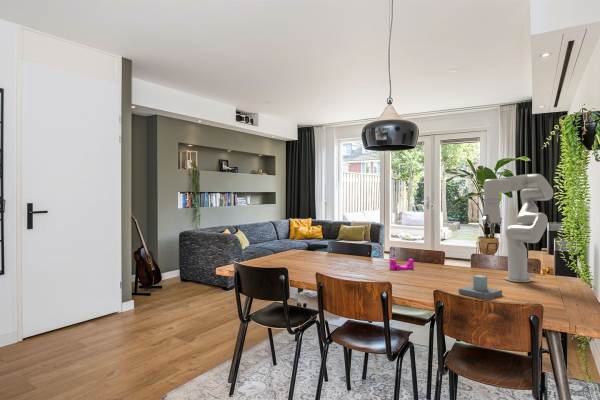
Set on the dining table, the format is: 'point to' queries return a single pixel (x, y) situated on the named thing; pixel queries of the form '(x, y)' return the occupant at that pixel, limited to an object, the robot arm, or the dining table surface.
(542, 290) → the dining table surface
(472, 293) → the socket
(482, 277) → the peg
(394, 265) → the toy block
